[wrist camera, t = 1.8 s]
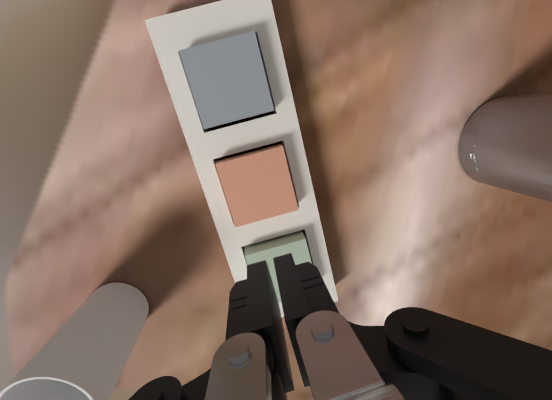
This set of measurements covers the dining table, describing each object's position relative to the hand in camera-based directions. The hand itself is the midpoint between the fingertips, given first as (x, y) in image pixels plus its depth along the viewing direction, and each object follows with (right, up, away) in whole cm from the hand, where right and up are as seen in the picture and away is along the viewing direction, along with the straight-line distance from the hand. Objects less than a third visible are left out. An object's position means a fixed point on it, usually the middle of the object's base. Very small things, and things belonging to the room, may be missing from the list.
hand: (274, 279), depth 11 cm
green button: (0, -4, +19) cm, 19 cm away
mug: (-19, -9, +21) cm, 29 cm away
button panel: (-2, +5, +18) cm, 19 cm away
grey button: (-4, +13, +14) cm, 19 cm away
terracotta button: (-2, +5, +16) cm, 17 cm away
